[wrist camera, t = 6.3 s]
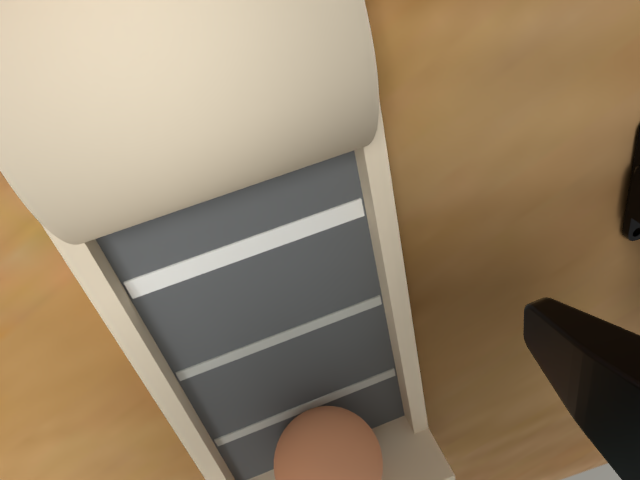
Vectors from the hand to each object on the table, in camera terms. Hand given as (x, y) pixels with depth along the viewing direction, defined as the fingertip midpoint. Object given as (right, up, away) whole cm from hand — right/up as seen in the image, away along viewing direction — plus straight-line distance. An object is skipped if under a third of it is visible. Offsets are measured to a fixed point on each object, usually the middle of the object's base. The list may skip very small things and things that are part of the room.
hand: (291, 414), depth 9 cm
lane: (-3, +3, +15) cm, 16 cm away
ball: (0, -5, +17) cm, 18 cm away
